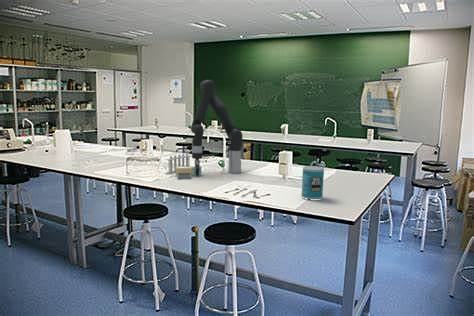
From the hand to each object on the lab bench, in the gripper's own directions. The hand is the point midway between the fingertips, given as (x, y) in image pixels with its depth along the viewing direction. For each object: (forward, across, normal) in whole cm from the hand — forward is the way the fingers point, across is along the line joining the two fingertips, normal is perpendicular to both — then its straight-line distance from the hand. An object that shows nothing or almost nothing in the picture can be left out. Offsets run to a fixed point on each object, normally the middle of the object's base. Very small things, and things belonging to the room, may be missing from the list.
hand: (197, 174), depth 271 cm
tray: (+1, -7, +9) cm, 12 cm away
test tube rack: (+1, +15, +13) cm, 20 cm away
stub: (+1, 0, 0) cm, 1 cm away
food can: (+1, -66, -64) cm, 92 cm away
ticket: (+1, 0, +9) cm, 9 cm away
